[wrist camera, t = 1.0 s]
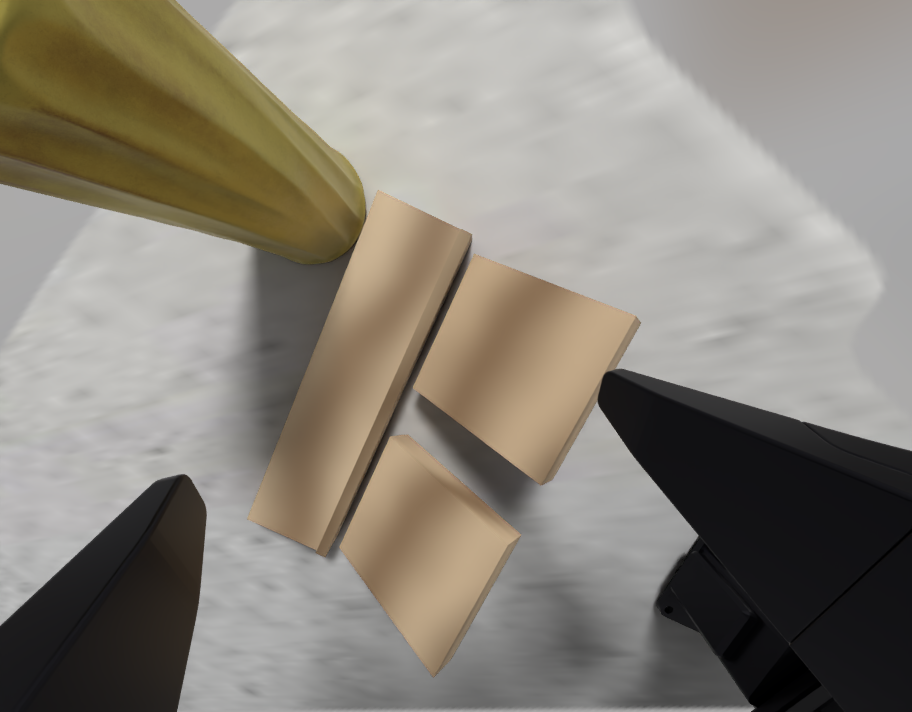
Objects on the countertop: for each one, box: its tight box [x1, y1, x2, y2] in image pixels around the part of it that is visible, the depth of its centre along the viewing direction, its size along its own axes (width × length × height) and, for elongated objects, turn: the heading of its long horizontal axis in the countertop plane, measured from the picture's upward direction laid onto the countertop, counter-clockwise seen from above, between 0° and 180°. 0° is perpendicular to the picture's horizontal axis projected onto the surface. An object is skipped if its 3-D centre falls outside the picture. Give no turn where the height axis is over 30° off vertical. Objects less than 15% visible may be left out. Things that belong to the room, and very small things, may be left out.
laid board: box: [247, 190, 472, 557], centre depth 19 cm, size 5×20×2 cm, turn 155°
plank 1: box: [339, 435, 521, 678], centre depth 18 cm, size 8×8×1 cm
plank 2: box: [413, 254, 641, 485], centre depth 16 cm, size 8×8×1 cm
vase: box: [0, 0, 365, 264], centre depth 12 cm, size 6×6×14 cm
